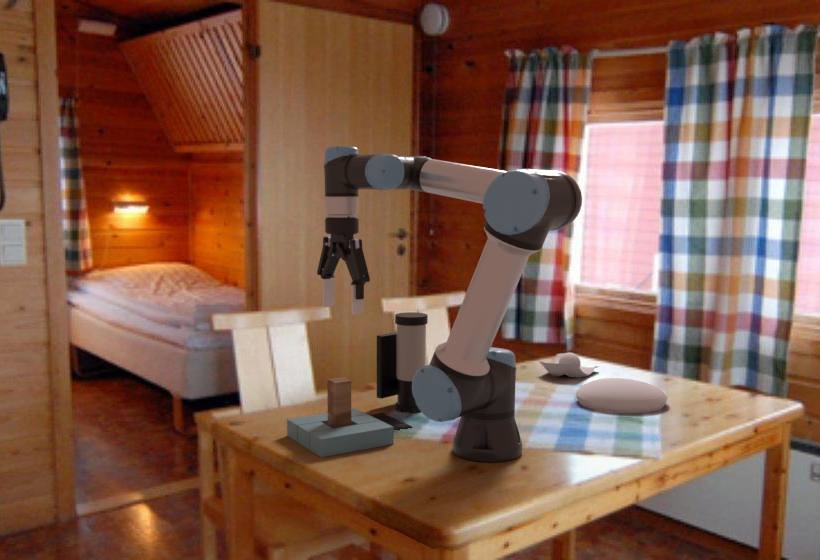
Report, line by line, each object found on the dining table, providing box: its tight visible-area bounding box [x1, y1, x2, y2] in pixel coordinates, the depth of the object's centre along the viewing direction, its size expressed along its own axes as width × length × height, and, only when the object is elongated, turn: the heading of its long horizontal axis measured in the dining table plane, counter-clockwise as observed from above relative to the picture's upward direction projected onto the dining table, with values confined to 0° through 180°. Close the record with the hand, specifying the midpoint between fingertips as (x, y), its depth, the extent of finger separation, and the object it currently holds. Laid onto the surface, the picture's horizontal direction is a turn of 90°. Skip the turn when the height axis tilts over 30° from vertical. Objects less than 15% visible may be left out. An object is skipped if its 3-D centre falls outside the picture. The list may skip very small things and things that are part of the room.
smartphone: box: [369, 412, 413, 431], centre depth 206 cm, size 7×1×15 cm
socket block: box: [286, 408, 395, 458], centre depth 192 cm, size 18×18×4 cm
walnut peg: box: [326, 376, 352, 428], centre depth 191 cm, size 4×4×14 cm
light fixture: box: [376, 311, 429, 414], centre depth 219 cm, size 12×11×25 cm
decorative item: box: [575, 377, 668, 414], centre depth 225 cm, size 24×7×20 cm
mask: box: [538, 352, 600, 378], centre depth 259 cm, size 20×8×15 cm
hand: (342, 310), depth 191 cm, fingers open, 13 cm apart
